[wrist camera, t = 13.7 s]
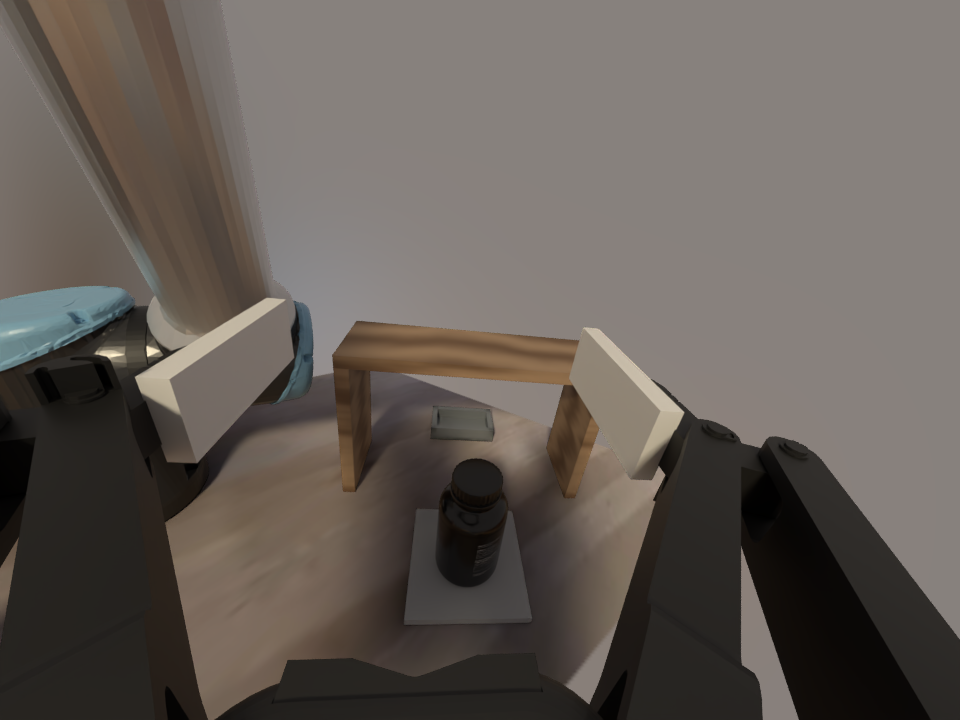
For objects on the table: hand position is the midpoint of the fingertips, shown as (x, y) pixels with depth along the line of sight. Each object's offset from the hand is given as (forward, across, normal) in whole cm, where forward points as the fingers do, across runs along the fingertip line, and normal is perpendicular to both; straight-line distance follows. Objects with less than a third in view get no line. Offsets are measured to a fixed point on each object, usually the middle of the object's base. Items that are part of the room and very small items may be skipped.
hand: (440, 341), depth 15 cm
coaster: (+9, +5, -30) cm, 32 cm away
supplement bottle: (+9, +5, -29) cm, 31 cm away
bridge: (+23, +5, -30) cm, 38 cm away
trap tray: (+32, +5, -30) cm, 44 cm away
